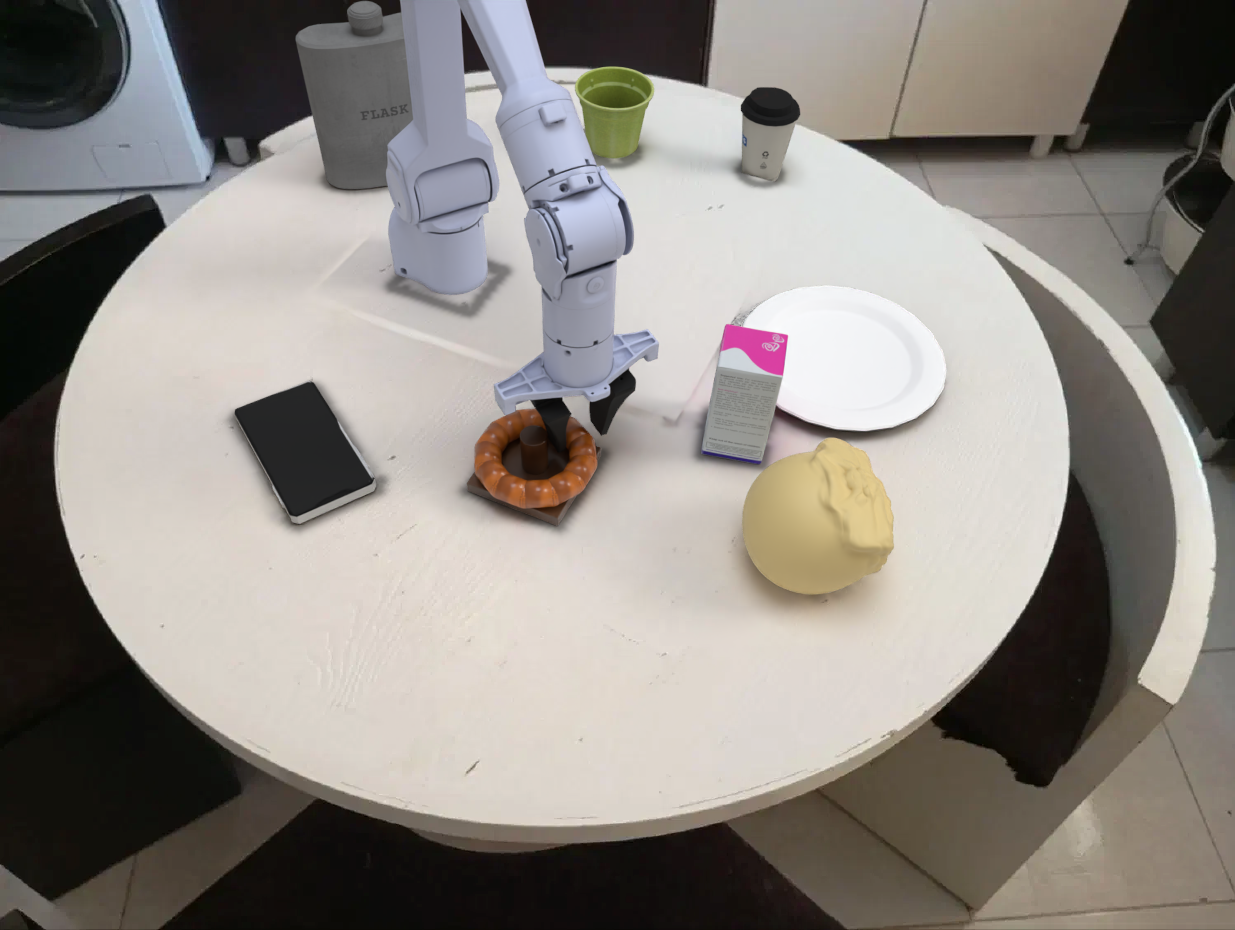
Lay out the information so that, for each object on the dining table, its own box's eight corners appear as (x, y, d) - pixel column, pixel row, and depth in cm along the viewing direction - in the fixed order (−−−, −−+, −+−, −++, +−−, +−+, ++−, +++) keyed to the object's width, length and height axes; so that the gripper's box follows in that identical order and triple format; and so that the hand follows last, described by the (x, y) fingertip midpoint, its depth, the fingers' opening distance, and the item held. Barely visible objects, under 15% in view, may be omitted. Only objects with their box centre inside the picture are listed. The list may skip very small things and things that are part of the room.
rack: (467, 491, 88) (462, 453, 84) (514, 423, 94) (512, 385, 90) (557, 526, 86) (557, 489, 82) (601, 455, 92) (602, 417, 88)
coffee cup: (798, 169, 122) (812, 94, 114) (772, 197, 118) (786, 121, 111) (747, 151, 124) (759, 76, 117) (721, 177, 120) (731, 102, 113)
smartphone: (313, 378, 95) (378, 480, 87) (315, 387, 96) (380, 489, 88) (230, 410, 92) (290, 519, 84) (234, 419, 93) (293, 528, 85)
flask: (333, 197, 115) (295, 30, 100) (323, 170, 119) (285, 4, 103) (457, 173, 119) (440, 8, 104) (444, 147, 123) (426, -16, 107)
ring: (453, 487, 87) (450, 470, 85) (510, 406, 93) (509, 388, 92) (564, 530, 84) (563, 513, 83) (615, 443, 91) (616, 426, 89)
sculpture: (890, 608, 82) (926, 531, 74) (747, 616, 81) (767, 539, 73) (858, 499, 89) (887, 418, 81) (726, 504, 88) (742, 423, 80)
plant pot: (664, 147, 124) (669, 82, 118) (624, 183, 119) (627, 117, 112) (601, 123, 127) (603, 58, 121) (559, 157, 122) (559, 91, 115)
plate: (777, 273, 109) (779, 261, 108) (964, 334, 104) (969, 322, 102) (703, 394, 97) (705, 382, 96) (911, 471, 92) (916, 459, 90)
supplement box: (763, 466, 91) (783, 378, 83) (699, 455, 92) (712, 366, 83) (769, 420, 95) (789, 332, 86) (708, 410, 96) (721, 321, 87)
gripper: (517, 385, 74) (524, 496, 85) (682, 325, 79) (669, 437, 90) (478, 328, 78) (490, 440, 89) (638, 274, 83) (631, 387, 93)
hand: (578, 435), depth 89 cm, fingers open, 4 cm apart
